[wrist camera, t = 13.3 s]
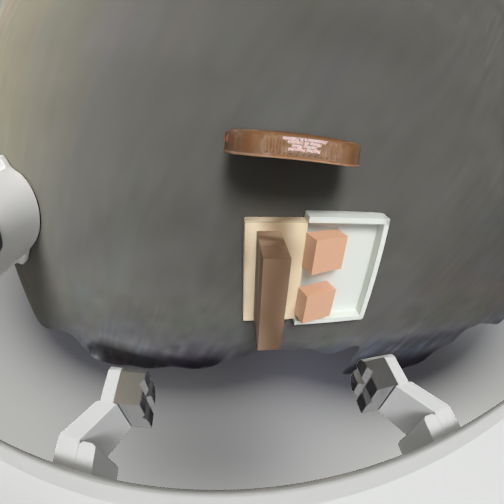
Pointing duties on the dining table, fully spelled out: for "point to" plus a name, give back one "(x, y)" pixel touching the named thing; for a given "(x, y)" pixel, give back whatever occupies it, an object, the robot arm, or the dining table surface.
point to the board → (295, 242)
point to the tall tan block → (270, 288)
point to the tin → (292, 147)
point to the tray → (349, 260)
